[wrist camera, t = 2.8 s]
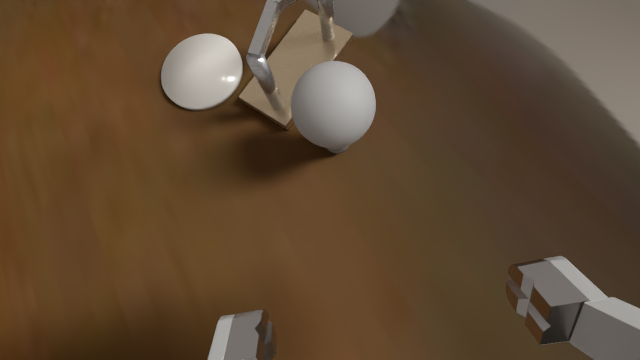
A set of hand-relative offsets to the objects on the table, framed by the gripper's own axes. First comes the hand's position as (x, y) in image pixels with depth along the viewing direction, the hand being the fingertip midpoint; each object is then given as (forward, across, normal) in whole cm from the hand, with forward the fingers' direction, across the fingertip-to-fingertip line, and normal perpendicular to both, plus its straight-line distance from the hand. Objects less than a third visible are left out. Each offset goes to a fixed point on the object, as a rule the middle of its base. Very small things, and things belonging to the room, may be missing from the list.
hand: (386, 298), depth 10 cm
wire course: (+27, -3, +3) cm, 27 cm away
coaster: (+28, -13, +5) cm, 31 cm away
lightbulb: (+21, 0, -3) cm, 21 cm away
